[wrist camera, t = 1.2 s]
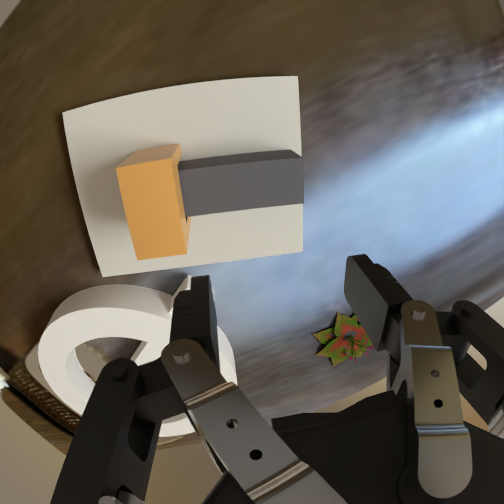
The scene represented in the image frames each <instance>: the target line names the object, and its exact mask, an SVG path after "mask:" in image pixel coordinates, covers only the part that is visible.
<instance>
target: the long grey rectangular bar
mask: <svg viewBox="0 0 504 504" xmlns="http://www.w3.org/2000/svg"><path fill="white" fill-rule="evenodd" d="M177 167H178V173H179V180H180V187H181V193H182V199H183V206H184V212H185V217H192V216H199V215H207V214H214V213H222V212H231V211H239V210H247V209H256V208H265V207H274V206H284V205H293V204H303V203H304V181H303V158H302V157H301V156H300V155H298V154H297V153H295V152H294V151H292V150H291V149H290V150H276V151H264V152H252V153H242V154H233V155H224V156H215V157H207V158H199V159H192V160H185V161H179V163H178V165H177Z"/></svg>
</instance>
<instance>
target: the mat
mask: <svg viewBox="0 0 504 504" xmlns="http://www.w3.org/2000/svg"><path fill="white" fill-rule="evenodd" d="M62 114H63V120H64V127H65V133H66V139H67V144H68V150H69V155H70V160H71V165H72V169H73V174H74V179H75V183H76V187H77V191H78V195H79V199H80V203H81V207H82V211H83V215H84V218H85V222H86V226H87V229H88V232H89V236H90V239H91V242H92V246H93V249H94V252H95V255H96V258H97V261H98V264H99V267H100V270H101V273H102V276H103V277H107V276H115V275H123V274H131V273H140V272H148V271H156V270H164V269H172V268H180V267H188V266H196V265H204V264H212V263H219V262H227V261H235V260H243V259H251V258H258V257H266V256H274V255H282V254H289V253H297V252H303V204H293V205H284V206H274V207H265V208H256V209H247V210H239V211H231V212H222V213H214V214H207V215H199V216H192V217H191V224H190V232H189V241H188V250H187V254H184V255H176V256H168V257H161V258H153V259H145V260H138V261H137V257H136V254H135V250H134V246H133V242H132V239H131V235H130V231H129V227H128V222H127V218H126V214H125V210H124V205H123V201H122V196H121V192H120V187H119V182H118V177H117V172H116V167H118V166H119V165H120V164H121V163H122V162H124V161H125V160H126V159H127V158H128V157H130V156H131V155H132V154H133V153H135V152H136V151H138V150H143V149H149V148H154V147H160V146H166V145H173V144H179V143H180V148H181V155H182V156H181V159H180V161H185V160H192V159H199V158H207V157H215V156H224V155H233V154H242V153H252V152H264V151H276V150H290V149H291V150H292V151H294V152H295V153H297V154H298V155H300V156H301V130H300V108H299V90H298V76H277V77H254V78H239V79H228V80H217V81H208V82H200V83H192V84H185V85H179V86H172V87H166V88H160V89H155V90H150V91H145V92H140V93H135V94H130V95H126V96H121V97H117V98H113V99H109V100H105V101H101V102H97V103H93V104H90V105H86V106H83V107H79V108H76V109H73V110H69V111H66V112H63V113H62Z"/></svg>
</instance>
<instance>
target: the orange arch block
mask: <svg viewBox="0 0 504 504" xmlns="http://www.w3.org/2000/svg"><path fill="white" fill-rule="evenodd" d="M181 156H182V155H181V148H180V143H179V144H173V145H166V146H160V147H154V148H149V149H143V150H138V151H136V152H135V153H133V154H132V155H131V156H130V157H128V158H127V159H126V160H125V161H124V162H122V163H121V164H120V165H119V166H118V167H116V172H117V177H118V182H119V187H120V192H121V196H122V201H123V205H124V210H125V214H126V218H127V222H128V227H129V231H130V235H131V239H132V242H133V246H134V250H135V254H136V257H137V261H138V260H145V259H153V258H161V257H168V256H176V255H184V254H187V250H188V241H189V232H190V224H191V217H185V212H184V206H183V199H182V193H181V187H180V180H179V173H178V167H177V165H178V163H179V161H180V159H181Z"/></svg>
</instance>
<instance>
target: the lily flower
mask: <svg viewBox="0 0 504 504" xmlns="http://www.w3.org/2000/svg"><path fill="white" fill-rule="evenodd" d="M336 320H337V322H336V324H335V327H333V328H330V329H327V330H324V331H321V332H319V333H315V334H312V335H314V336H315V337H316V338H318V340H319V341H320V342H321V343H322V344H325V345H327V346H326V347H325V348H324V349H323V350H322V351H320V352H319V353H318V354H316V355H319V356H325V357H331V359H332V363H333V366H335V365H336V364H338V363H340V362H342V361H344V360H346V359H347V358H348V357H350V360H351V359H352V357H355V362H356V357H358V356H359V357H361V356H362V354H363V352H364V353H365V351H366V349H368V348H373V347H374V346H373V347H367V346H370V345H373V344H372V342H371V340H370V339H369V337H368V335H367V334H366V332H365V330H364V328H363V327H362V325H361V323H360V325H358V323H357V322H356V321H357V320H358V318H357V317H356V315H354V316H353V317H352V318H349V317H347V316H345V315H341V314H340V313H338V312H337V319H336ZM347 331H358V332H357V334H356V336H355V338H353V336H351V335H350V336H349V337H348V338H349V339H348V341H344V340H343V337H344V335H345V334H346V332H347ZM332 333H335V335H336V336H337V338H335V339H334V338H333V337H331V336H330V335H328V334H332ZM349 340H350V341H349ZM368 350H370V349H368ZM365 354H367V353H365ZM367 355H368V354H367Z"/></svg>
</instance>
